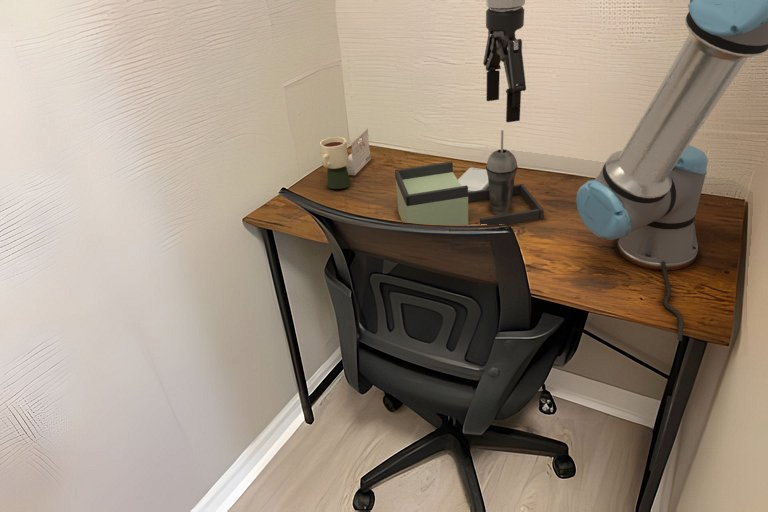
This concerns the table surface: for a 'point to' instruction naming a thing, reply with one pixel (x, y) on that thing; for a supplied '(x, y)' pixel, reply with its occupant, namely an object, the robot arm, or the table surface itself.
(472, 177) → the hard drive
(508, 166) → the beverage cup
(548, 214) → the table surface
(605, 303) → the table surface
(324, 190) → the table surface
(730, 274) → the table surface
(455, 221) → the tray
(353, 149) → the ink cartridge box
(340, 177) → the character mug
